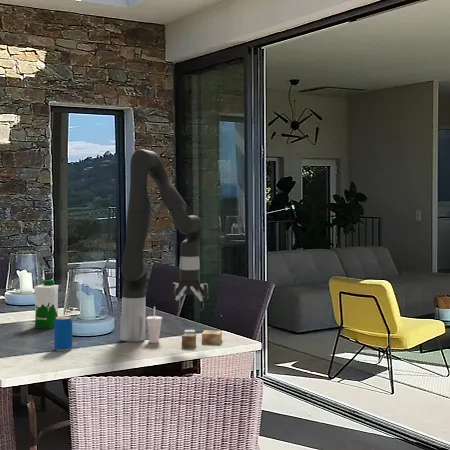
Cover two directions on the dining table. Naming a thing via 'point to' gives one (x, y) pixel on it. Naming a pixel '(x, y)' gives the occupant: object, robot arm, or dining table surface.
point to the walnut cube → (188, 340)
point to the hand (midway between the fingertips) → (189, 310)
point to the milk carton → (46, 304)
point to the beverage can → (63, 333)
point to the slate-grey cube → (189, 331)
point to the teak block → (211, 337)
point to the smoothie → (154, 327)
